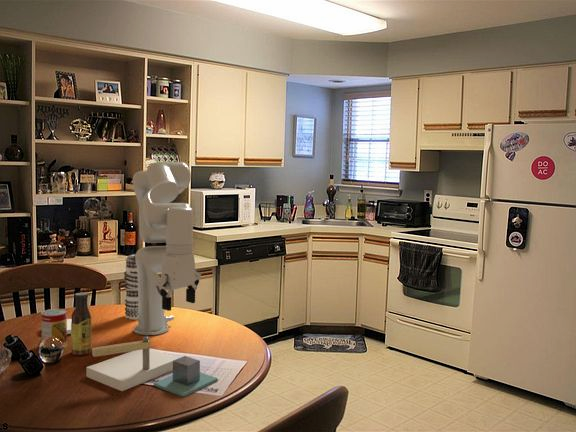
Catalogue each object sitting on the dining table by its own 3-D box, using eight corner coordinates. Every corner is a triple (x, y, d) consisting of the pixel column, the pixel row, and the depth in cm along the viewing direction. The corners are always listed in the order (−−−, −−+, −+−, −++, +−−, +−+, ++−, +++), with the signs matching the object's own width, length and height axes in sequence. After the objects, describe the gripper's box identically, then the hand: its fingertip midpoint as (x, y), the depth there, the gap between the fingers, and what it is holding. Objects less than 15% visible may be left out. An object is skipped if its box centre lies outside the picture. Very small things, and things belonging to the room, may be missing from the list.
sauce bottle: (84, 357, 182) (83, 297, 180) (67, 355, 183) (66, 295, 181) (95, 350, 188) (94, 292, 186) (78, 348, 190) (77, 290, 187)
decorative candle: (152, 315, 229) (152, 254, 226) (137, 321, 221) (137, 258, 218) (134, 311, 233) (134, 252, 230) (119, 317, 225) (118, 255, 222)
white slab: (144, 355, 185) (144, 327, 184) (179, 367, 176) (179, 338, 175) (86, 376, 167) (86, 345, 166) (122, 391, 158) (121, 358, 157)
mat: (188, 370, 173) (188, 368, 173) (217, 380, 167) (217, 378, 167) (153, 385, 162) (153, 383, 162) (183, 397, 155) (183, 394, 155)
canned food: (72, 344, 193) (71, 310, 192) (55, 351, 186) (55, 316, 185) (53, 341, 196) (53, 307, 195) (36, 348, 189) (35, 313, 187)
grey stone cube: (184, 375, 168) (185, 355, 167) (199, 380, 165) (199, 360, 164) (172, 380, 164) (172, 360, 163) (187, 385, 161) (187, 365, 160)
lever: (92, 354, 159) (92, 343, 159) (148, 346, 167) (148, 335, 167) (93, 356, 157) (93, 345, 157) (150, 348, 165) (150, 337, 165)
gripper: (191, 243, 173) (190, 297, 175) (147, 251, 159) (147, 310, 161) (209, 246, 169) (208, 302, 171) (166, 255, 155) (166, 315, 157)
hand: (178, 305), depth 166 cm, fingers open, 9 cm apart
